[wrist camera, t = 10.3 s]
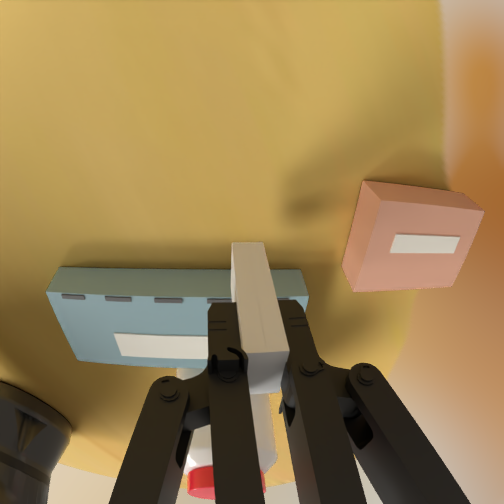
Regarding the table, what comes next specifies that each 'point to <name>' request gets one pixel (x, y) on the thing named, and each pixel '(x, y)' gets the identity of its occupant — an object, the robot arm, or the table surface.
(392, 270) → the pink labeled box
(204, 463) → the pill bottle
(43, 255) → the table surface
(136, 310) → the blue labeled box
